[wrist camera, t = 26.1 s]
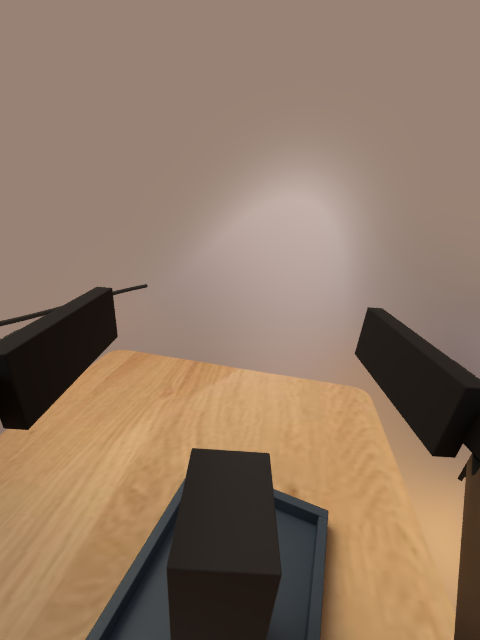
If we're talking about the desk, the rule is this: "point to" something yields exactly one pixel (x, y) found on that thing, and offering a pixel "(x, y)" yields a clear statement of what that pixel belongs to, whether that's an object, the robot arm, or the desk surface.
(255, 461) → the black tall block
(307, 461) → the desk surface
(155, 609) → the tray
